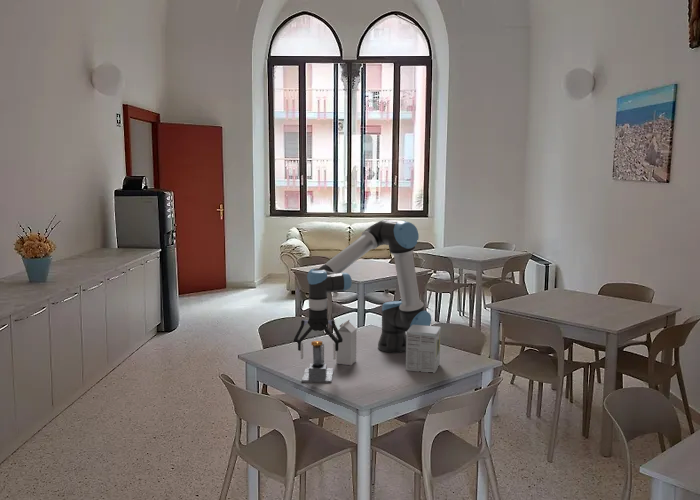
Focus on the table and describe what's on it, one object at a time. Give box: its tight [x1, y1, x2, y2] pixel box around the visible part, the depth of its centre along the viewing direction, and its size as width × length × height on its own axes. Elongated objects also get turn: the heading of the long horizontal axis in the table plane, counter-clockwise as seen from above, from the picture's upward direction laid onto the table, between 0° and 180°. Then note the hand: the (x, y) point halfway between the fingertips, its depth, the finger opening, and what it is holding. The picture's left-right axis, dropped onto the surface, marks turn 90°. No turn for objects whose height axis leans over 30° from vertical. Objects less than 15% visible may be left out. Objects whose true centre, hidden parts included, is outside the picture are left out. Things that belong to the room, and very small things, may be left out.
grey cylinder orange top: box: [310, 340, 323, 368], centre depth 260 cm, size 5×5×14 cm
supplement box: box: [405, 325, 442, 374], centre depth 274 cm, size 13×13×18 cm
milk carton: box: [335, 319, 357, 366], centre depth 280 cm, size 7×7×19 cm
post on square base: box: [301, 343, 334, 384], centre depth 262 cm, size 12×16×12 cm
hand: (318, 358), depth 260 cm, fingers open, 13 cm apart
